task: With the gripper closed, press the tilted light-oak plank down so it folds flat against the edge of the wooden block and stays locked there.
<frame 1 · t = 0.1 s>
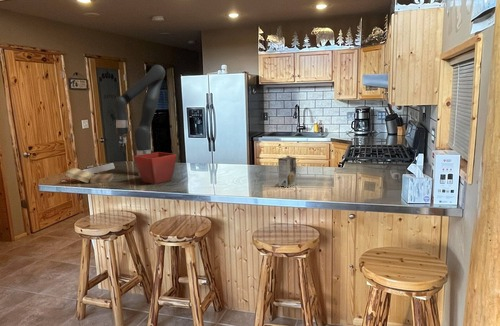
hand: (123, 150, 247), 17 cm above the counter, tool pointing down, fingers open, 8 cm apart
coffee box: (287, 185, 209), on the counter
oak plank: (80, 175, 233), point 4 cm above the counter, hinge at 22.0°
wooden block: (102, 180, 235), on the counter
decorative molding: (92, 173, 265), on the counter
plant pot: (156, 181, 229), on the counter
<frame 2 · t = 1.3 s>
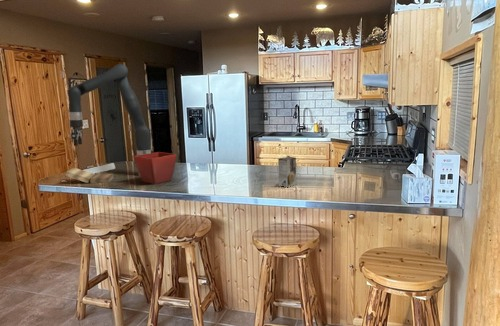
hand: (78, 145, 231), 23 cm above the counter, tool pointing down, fingers open, 8 cm apart
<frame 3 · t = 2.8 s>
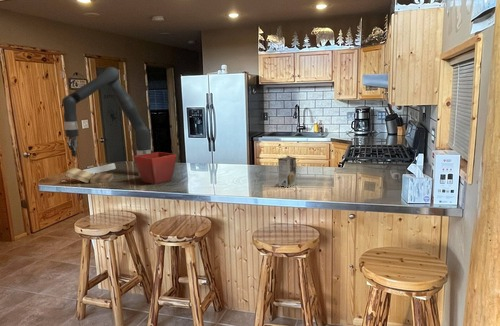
hand: (74, 156, 230), 17 cm above the counter, tool pointing down, fingers closed
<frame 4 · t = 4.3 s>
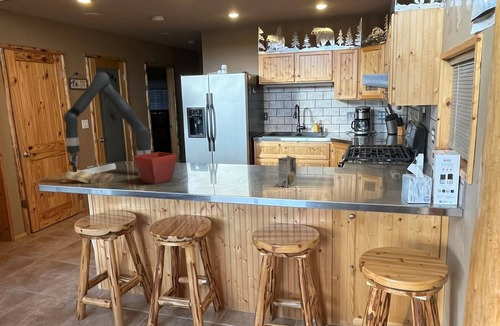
hand: (75, 171, 232), 7 cm above the counter, tool pointing down, fingers closed
oak plank: (80, 175, 233), point 4 cm above the counter, hinge at 18.3°, touching gripper
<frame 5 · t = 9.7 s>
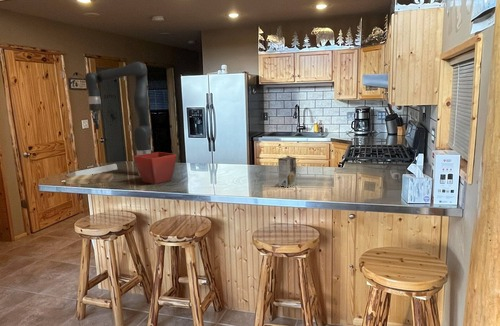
hand: (97, 129, 247), 32 cm above the counter, tool pointing down, fingers closed
oak plank: (81, 179, 233), point 1 cm above the counter, hinge at -0.1°
decorative molding: (93, 173, 264), on the counter
everything else where it was.
at the end: oak plank at +0° (first picture: +22°); decorative molding moved 2.4 cm from its start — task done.
